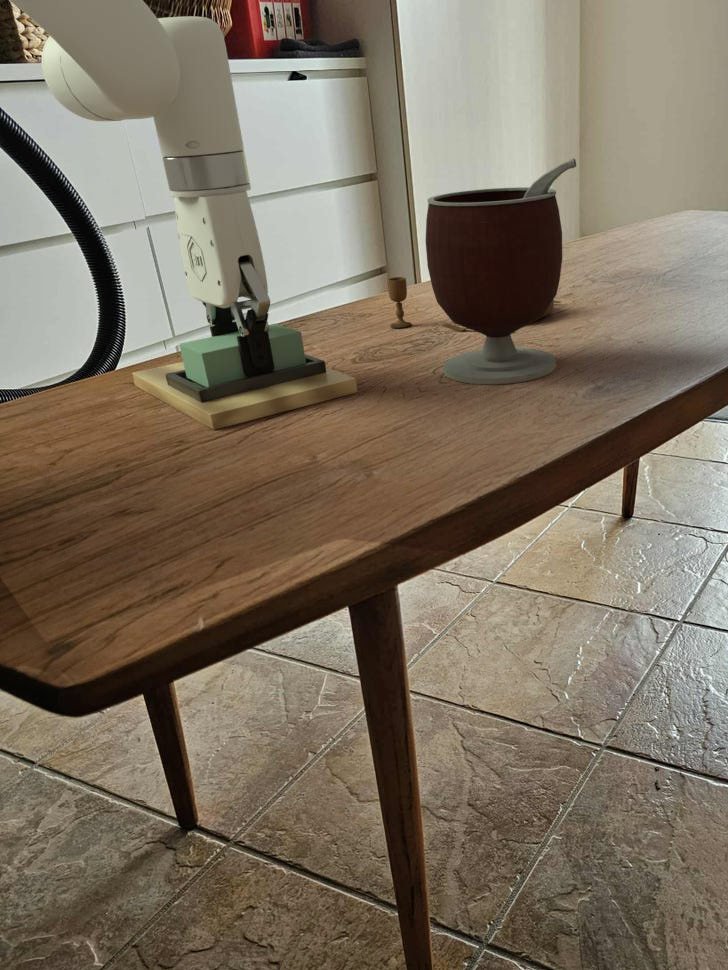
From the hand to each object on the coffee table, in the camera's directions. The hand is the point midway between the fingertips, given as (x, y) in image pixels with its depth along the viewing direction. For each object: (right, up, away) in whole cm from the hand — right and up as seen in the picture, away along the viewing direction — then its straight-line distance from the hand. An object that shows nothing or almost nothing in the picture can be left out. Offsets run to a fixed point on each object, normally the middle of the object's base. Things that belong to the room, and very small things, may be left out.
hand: (245, 366), depth 94 cm
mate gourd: (+28, +1, +4) cm, 28 cm away
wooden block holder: (-1, -2, +3) cm, 3 cm away
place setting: (+25, +15, +27) cm, 39 cm away
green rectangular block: (0, -1, 0) cm, 1 cm away
